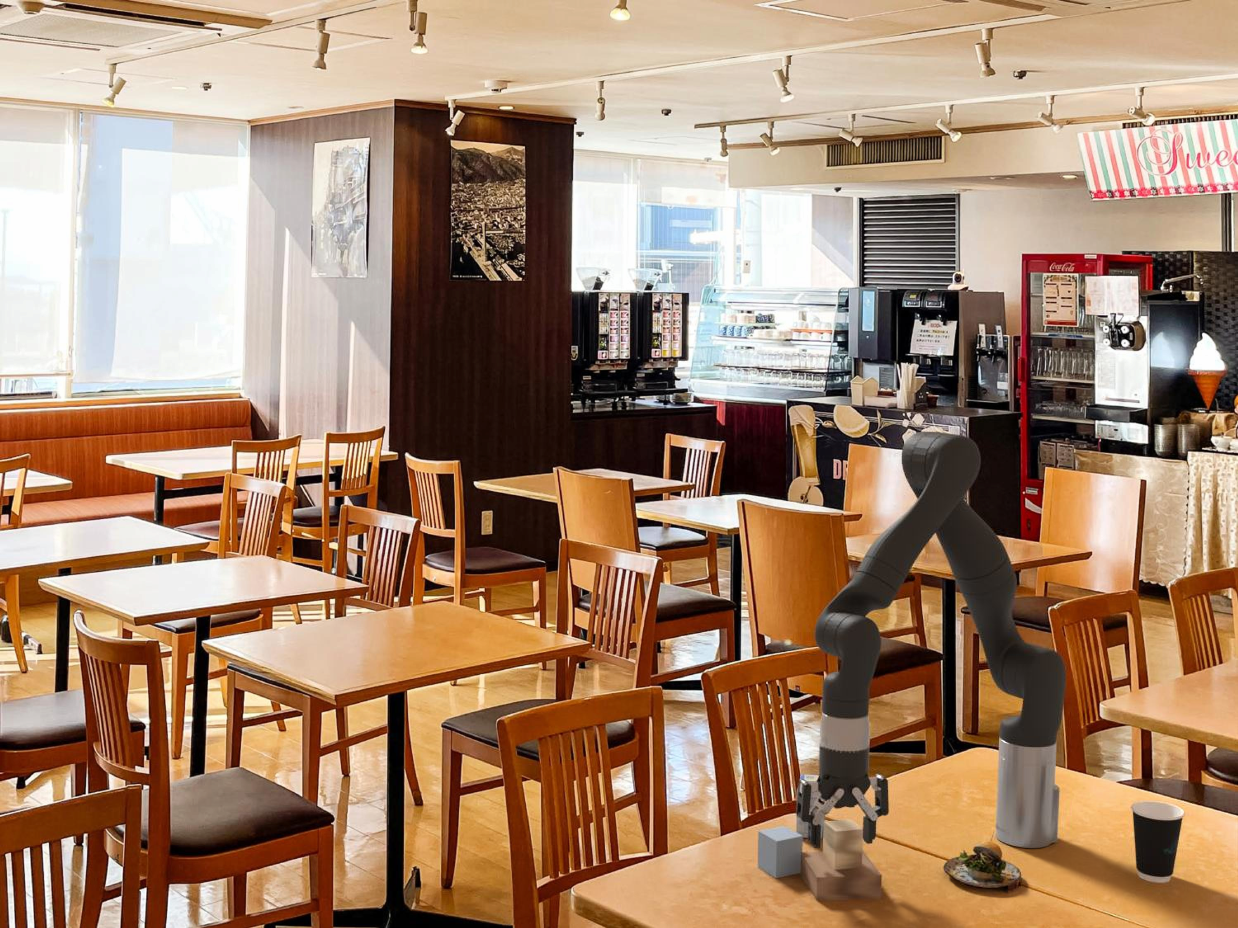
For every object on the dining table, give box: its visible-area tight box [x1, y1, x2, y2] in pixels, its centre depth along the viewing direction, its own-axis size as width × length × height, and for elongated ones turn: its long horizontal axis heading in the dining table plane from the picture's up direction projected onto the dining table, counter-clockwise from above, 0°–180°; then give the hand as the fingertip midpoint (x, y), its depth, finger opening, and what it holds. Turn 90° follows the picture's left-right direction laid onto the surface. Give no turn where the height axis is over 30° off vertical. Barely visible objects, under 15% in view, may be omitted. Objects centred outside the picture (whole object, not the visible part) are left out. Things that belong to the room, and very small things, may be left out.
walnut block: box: [799, 849, 883, 902], centre depth 216 cm, size 10×10×4 cm
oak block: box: [822, 818, 864, 870], centre depth 215 cm, size 4×4×6 cm
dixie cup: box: [1130, 800, 1186, 884], centre depth 220 cm, size 8×8×11 cm
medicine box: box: [795, 774, 826, 840], centre depth 238 cm, size 8×4×9 cm, turn 168°
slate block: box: [757, 825, 804, 879], centre depth 222 cm, size 5×5×6 cm
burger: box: [943, 831, 1023, 893], centre depth 219 cm, size 12×12×8 cm
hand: (841, 844), depth 215 cm, fingers open, 8 cm apart
